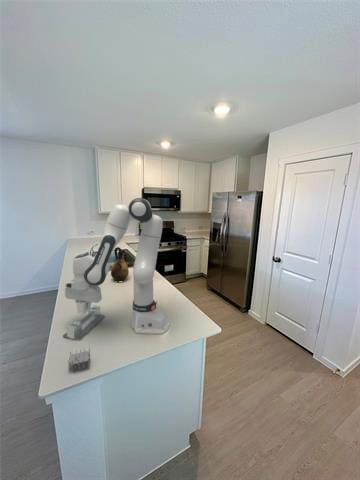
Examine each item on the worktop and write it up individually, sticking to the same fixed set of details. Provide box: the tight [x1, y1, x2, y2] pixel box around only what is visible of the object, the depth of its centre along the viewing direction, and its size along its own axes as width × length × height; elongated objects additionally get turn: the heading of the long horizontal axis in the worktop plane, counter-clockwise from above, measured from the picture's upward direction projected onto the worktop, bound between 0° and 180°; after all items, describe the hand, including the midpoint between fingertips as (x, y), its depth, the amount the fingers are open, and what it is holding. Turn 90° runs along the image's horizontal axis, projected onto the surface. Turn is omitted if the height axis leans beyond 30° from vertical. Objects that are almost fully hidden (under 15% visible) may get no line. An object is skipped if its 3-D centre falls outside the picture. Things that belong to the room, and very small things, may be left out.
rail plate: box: [62, 305, 106, 341], centre depth 111 cm, size 10×23×6 cm, turn 169°
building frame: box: [68, 347, 91, 373], centre depth 84 cm, size 6×8×6 cm
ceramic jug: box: [110, 246, 130, 282], centre depth 176 cm, size 17×15×30 cm
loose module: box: [76, 300, 92, 315], centre depth 109 cm, size 4×6×6 cm, turn 169°
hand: (84, 307), depth 109 cm, fingers closed on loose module, 4 cm apart
